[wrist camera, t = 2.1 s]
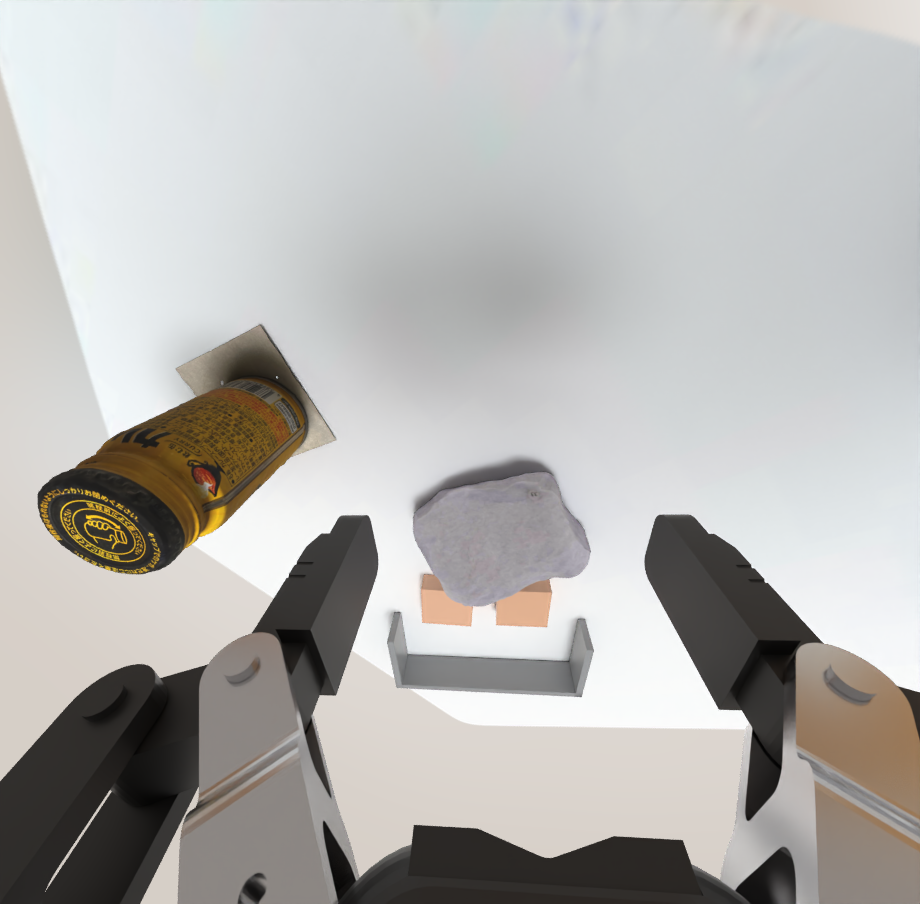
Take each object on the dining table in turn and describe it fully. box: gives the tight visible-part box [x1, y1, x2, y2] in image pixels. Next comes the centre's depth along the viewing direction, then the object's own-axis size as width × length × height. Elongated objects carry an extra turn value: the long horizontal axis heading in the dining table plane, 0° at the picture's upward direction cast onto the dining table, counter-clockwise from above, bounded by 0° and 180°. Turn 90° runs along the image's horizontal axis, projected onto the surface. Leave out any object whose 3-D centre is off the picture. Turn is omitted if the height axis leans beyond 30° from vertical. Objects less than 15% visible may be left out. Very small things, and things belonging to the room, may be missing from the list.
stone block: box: [413, 472, 591, 607], centre depth 27 cm, size 12×5×10 cm
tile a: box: [421, 574, 473, 626], centre depth 31 cm, size 4×4×2 cm
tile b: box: [496, 579, 552, 627], centre depth 31 cm, size 4×4×2 cm
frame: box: [387, 613, 594, 697], centre depth 34 cm, size 8×18×3 cm, turn 91°
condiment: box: [38, 325, 336, 574], centre depth 19 cm, size 7×8×12 cm
